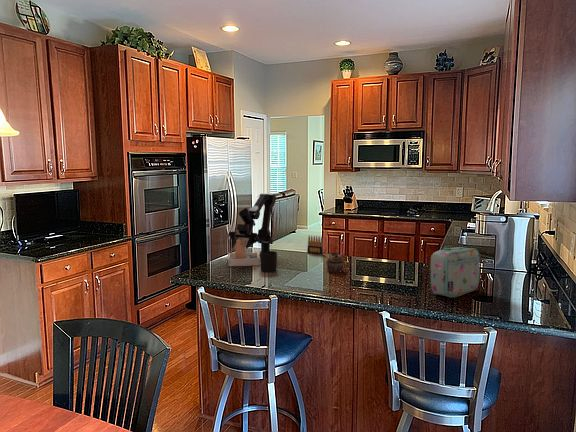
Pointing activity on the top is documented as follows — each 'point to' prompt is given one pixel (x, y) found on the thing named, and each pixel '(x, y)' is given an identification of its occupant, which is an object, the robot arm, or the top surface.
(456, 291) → the lunch box
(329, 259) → the cupcake
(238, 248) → the post
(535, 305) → the top surface
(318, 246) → the ammunition clip
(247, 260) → the tray
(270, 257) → the pen holder
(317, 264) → the top surface
